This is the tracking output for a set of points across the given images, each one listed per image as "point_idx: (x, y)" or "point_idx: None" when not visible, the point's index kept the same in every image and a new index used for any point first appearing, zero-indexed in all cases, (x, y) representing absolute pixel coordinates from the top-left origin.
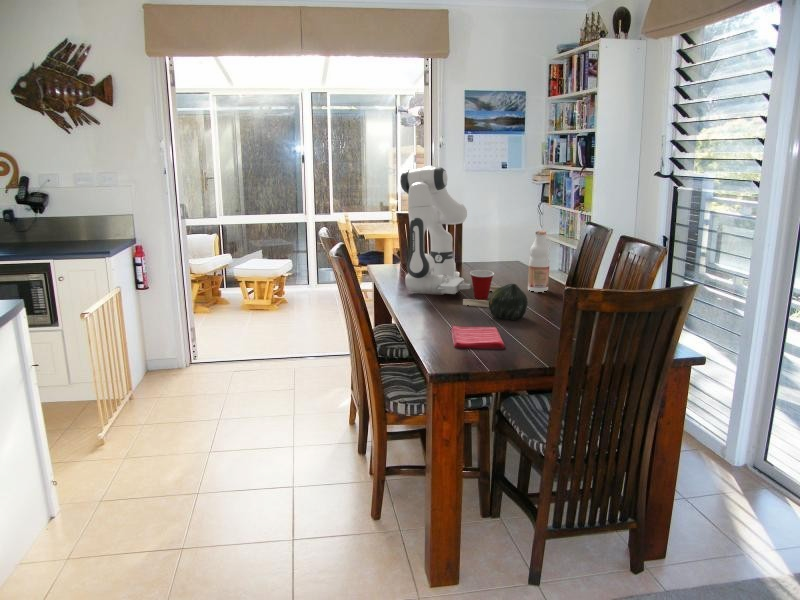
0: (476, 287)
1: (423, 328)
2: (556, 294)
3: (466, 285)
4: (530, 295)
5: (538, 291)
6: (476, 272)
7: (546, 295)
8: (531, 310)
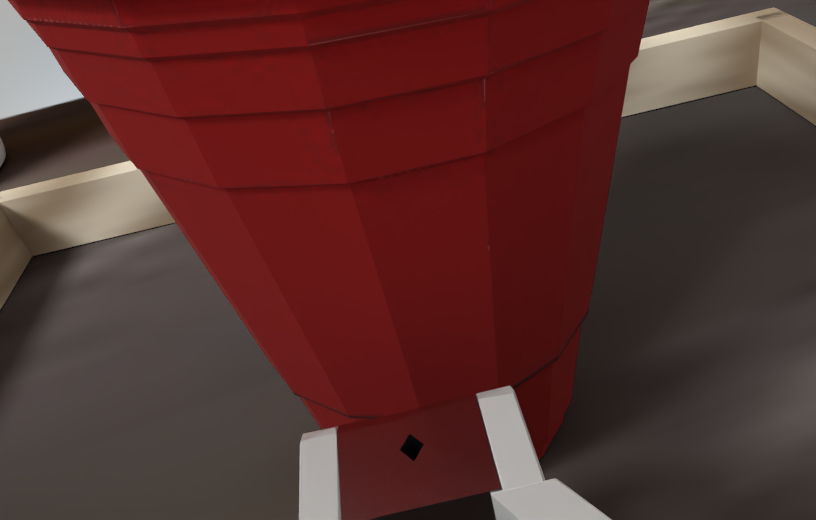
0: (605, 207)
1: None
2: (69, 101)
3: (535, 464)
4: (119, 159)
5: (2, 152)
6: (63, 21)
7: None
8: (663, 2)
